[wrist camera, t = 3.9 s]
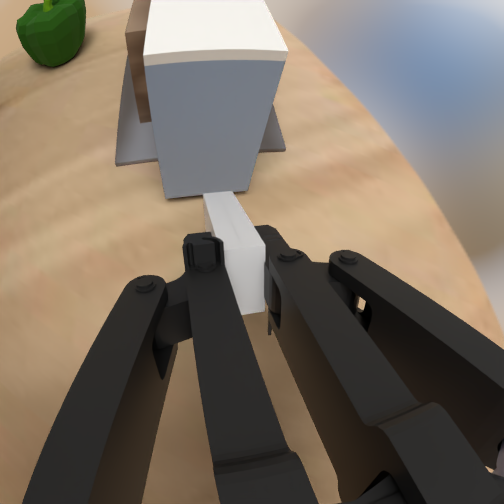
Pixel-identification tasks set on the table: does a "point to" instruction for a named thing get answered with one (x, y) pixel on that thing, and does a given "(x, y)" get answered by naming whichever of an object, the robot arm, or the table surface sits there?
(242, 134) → the white box
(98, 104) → the table surface
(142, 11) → the housing
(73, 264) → the table surface
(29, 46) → the bell pepper
